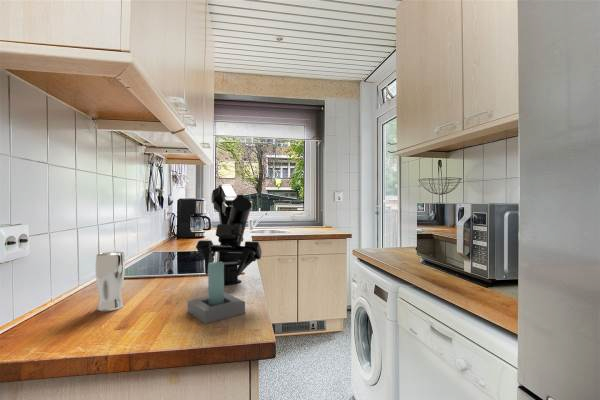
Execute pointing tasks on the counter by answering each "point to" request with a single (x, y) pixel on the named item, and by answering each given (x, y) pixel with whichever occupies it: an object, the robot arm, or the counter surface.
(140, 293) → the counter surface
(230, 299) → the socket block
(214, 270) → the peg
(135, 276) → the counter surface
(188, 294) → the counter surface
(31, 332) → the counter surface
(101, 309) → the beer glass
